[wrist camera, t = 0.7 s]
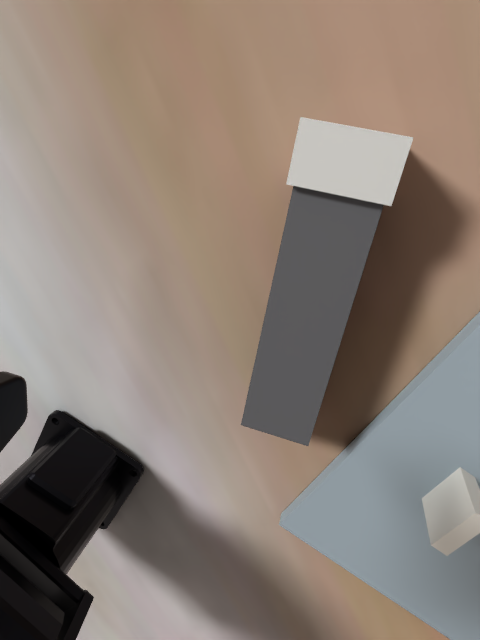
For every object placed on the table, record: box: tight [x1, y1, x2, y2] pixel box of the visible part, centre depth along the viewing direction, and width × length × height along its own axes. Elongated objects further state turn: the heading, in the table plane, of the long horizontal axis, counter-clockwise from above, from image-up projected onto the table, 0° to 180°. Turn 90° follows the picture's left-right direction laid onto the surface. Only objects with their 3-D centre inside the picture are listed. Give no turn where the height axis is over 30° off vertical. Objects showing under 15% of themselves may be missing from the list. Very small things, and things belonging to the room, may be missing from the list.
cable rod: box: [241, 117, 413, 446], centre depth 16 cm, size 12×3×3 cm, turn 169°
